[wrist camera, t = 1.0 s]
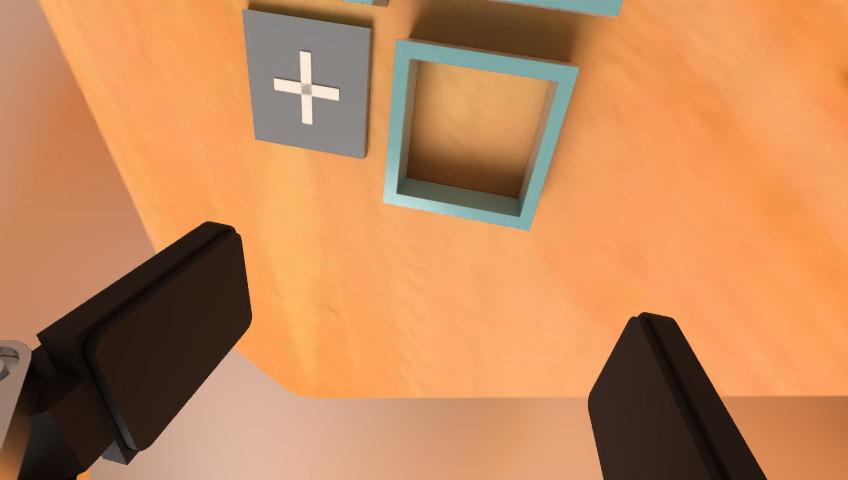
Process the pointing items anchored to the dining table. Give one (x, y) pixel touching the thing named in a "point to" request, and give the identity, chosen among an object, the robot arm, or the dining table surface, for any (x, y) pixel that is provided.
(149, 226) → the dining table surface
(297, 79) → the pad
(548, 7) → the dish
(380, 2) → the dish
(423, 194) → the dish
